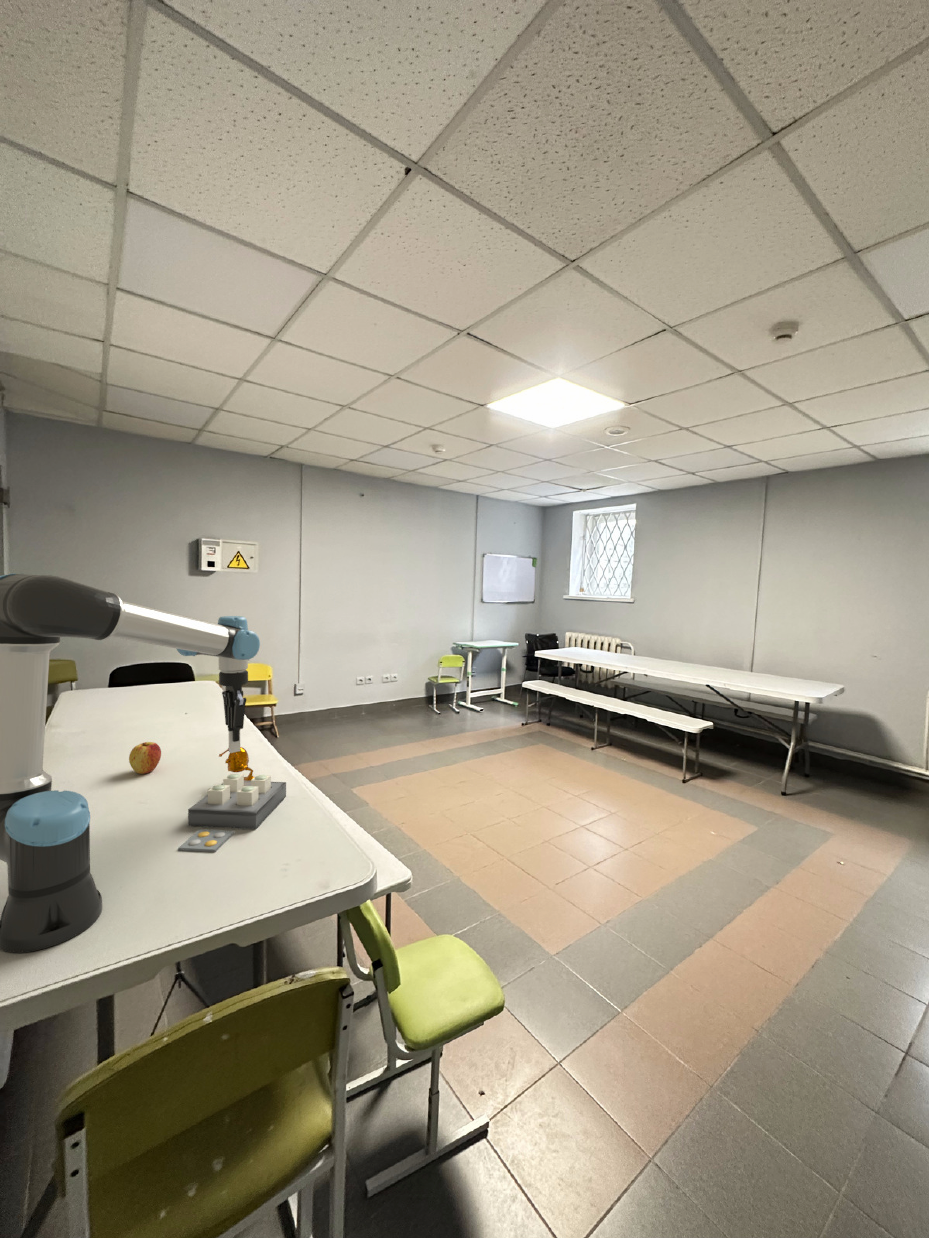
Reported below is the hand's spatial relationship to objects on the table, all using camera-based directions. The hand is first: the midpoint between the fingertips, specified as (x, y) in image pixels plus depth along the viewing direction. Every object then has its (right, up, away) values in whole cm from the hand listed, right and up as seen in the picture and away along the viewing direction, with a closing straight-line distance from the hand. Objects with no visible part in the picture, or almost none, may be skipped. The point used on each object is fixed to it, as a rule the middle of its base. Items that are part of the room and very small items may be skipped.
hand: (234, 751), depth 143 cm
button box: (+3, -16, -3) cm, 16 cm away
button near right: (+7, -12, -8) cm, 16 cm away
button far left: (-1, -11, +1) cm, 12 cm away
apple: (-40, -13, +22) cm, 47 cm away
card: (+3, -17, -20) cm, 27 cm away
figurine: (-5, -15, +15) cm, 21 cm away
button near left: (-1, -12, -8) cm, 14 cm away
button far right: (+7, -12, 0) cm, 14 cm away
